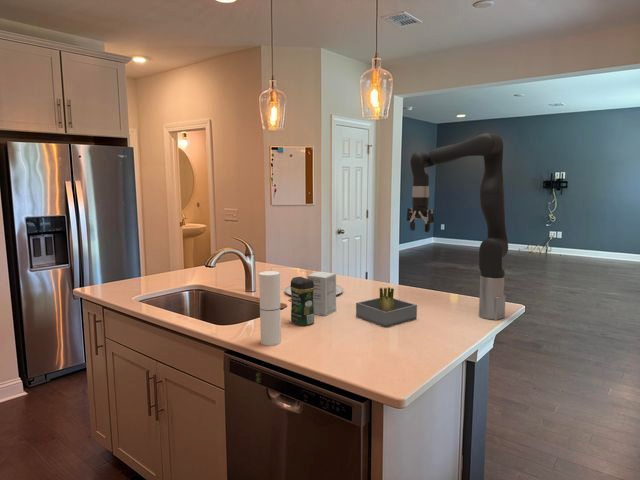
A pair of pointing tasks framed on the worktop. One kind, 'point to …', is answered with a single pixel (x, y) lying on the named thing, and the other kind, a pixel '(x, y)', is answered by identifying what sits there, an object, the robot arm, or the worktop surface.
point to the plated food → (338, 290)
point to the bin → (386, 319)
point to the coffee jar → (302, 301)
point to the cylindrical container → (270, 308)
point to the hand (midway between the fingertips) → (419, 231)
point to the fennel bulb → (386, 299)
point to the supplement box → (324, 292)
